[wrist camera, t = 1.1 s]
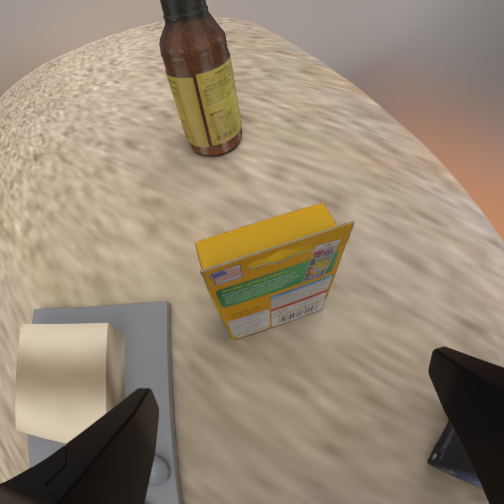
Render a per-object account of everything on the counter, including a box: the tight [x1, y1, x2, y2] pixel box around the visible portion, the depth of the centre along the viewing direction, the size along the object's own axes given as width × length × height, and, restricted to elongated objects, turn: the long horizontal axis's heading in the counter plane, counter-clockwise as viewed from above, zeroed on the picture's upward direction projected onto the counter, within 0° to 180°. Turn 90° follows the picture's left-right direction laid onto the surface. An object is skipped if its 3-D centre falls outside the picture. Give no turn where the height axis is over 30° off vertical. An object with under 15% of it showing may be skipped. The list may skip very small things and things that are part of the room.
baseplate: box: [28, 301, 183, 504], centre depth 19 cm, size 20×14×2 cm
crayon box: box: [195, 203, 355, 340], centre depth 19 cm, size 7×3×12 cm, turn 108°
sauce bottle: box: [159, 0, 242, 156], centre depth 25 cm, size 7×6×20 cm
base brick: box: [15, 323, 125, 444], centre depth 19 cm, size 9×9×3 cm
